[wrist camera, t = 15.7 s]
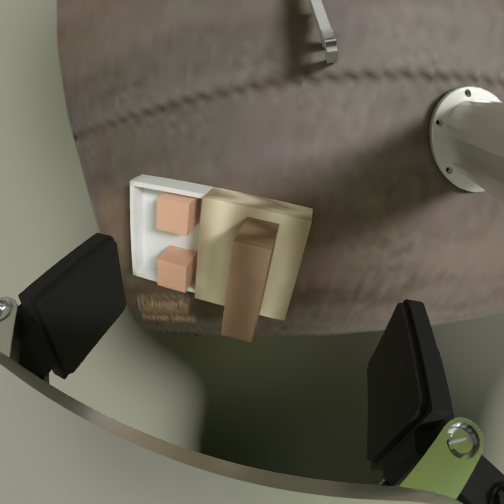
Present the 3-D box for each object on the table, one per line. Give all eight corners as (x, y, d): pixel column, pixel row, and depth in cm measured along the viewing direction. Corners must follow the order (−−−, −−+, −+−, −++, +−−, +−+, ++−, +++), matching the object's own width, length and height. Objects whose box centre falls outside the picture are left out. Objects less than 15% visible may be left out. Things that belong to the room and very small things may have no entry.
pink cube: (189, 203, 33) (157, 197, 33) (186, 236, 35) (156, 228, 35) (201, 193, 36) (171, 187, 37) (198, 222, 38) (170, 216, 39)
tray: (213, 186, 36) (205, 194, 34) (204, 281, 43) (197, 293, 41) (142, 174, 37) (130, 180, 35) (142, 264, 44) (133, 274, 42)
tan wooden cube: (186, 267, 37) (157, 259, 37) (185, 292, 39) (157, 284, 39) (197, 251, 41) (170, 245, 41) (195, 276, 43) (169, 269, 43)
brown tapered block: (279, 223, 33) (271, 249, 27) (260, 309, 39) (250, 342, 33) (247, 216, 33) (233, 240, 28) (233, 303, 39) (220, 334, 34)
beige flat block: (312, 208, 35) (311, 221, 32) (287, 302, 42) (284, 320, 39) (213, 186, 36) (202, 197, 33) (204, 281, 43) (194, 297, 40)
